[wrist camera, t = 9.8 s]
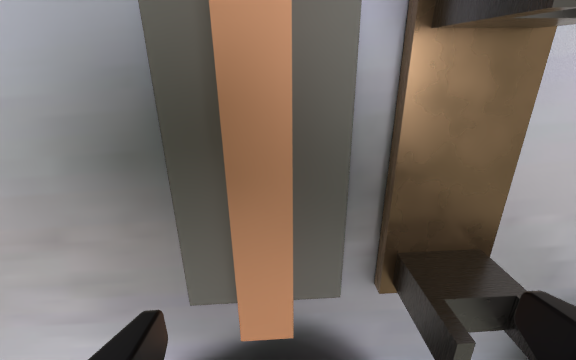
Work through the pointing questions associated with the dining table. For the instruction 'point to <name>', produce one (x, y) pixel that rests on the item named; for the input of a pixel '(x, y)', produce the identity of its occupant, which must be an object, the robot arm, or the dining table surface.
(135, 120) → the dining table surface
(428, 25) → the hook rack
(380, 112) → the dining table surface
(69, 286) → the dining table surface
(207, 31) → the mat
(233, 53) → the rail
